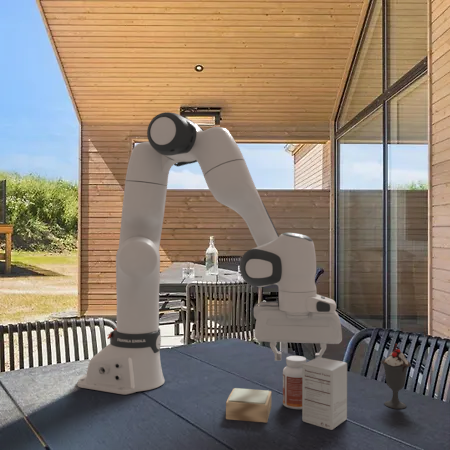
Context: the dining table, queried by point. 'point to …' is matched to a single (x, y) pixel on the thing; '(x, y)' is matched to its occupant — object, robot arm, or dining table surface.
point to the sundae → (395, 376)
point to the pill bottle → (293, 382)
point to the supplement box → (324, 392)
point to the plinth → (248, 405)
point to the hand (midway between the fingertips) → (298, 360)
